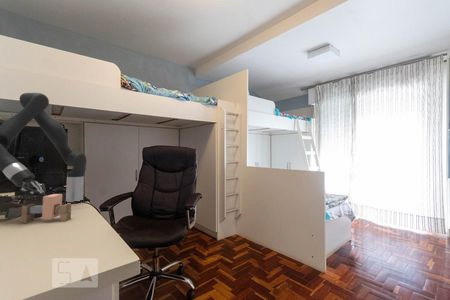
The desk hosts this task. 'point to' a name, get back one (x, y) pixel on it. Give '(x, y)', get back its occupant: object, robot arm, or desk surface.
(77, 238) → the desk surface
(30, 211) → the grey metal bar
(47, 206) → the collar
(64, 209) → the stand
